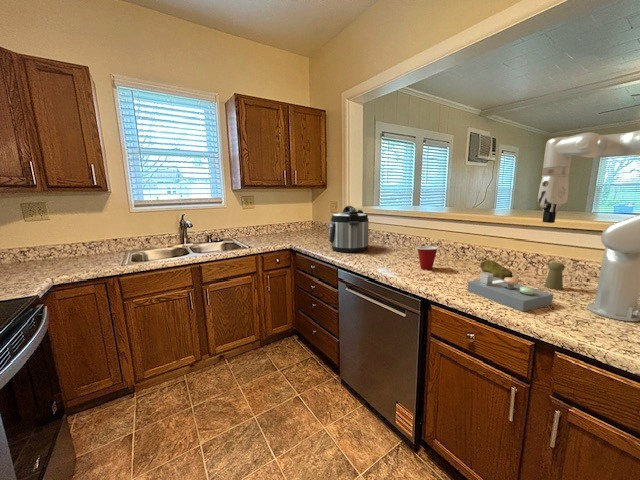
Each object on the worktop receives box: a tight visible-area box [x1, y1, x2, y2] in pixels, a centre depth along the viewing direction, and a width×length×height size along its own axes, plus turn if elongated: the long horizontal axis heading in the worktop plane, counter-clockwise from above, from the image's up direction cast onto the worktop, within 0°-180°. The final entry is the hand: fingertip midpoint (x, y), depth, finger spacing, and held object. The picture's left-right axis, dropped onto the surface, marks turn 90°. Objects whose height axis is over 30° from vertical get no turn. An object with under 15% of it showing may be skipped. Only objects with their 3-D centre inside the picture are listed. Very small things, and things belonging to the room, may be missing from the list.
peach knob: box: [504, 277, 519, 290], centre depth 103 cm, size 4×4×4 cm
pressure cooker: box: [328, 205, 370, 253], centre depth 194 cm, size 30×28×32 cm
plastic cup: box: [416, 245, 439, 271], centre depth 145 cm, size 11×11×12 cm
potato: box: [480, 259, 514, 280], centre depth 129 cm, size 8×13×8 cm, turn 26°
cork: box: [544, 261, 566, 291], centre depth 114 cm, size 6×6×11 cm
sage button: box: [520, 286, 536, 296], centre depth 98 cm, size 4×4×4 cm
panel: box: [466, 277, 554, 313], centre depth 105 cm, size 22×16×4 cm
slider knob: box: [479, 272, 493, 284], centre depth 108 cm, size 3×3×4 cm
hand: (548, 222), depth 102 cm, fingers closed
